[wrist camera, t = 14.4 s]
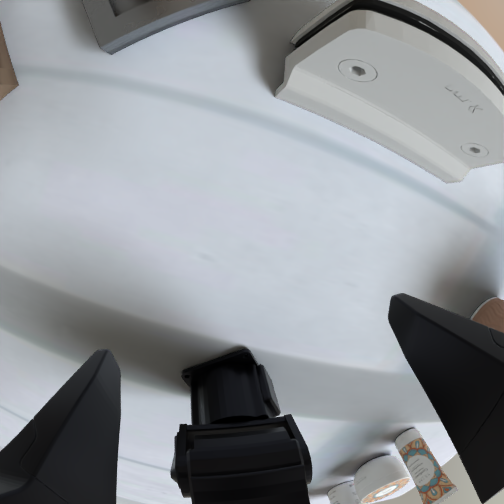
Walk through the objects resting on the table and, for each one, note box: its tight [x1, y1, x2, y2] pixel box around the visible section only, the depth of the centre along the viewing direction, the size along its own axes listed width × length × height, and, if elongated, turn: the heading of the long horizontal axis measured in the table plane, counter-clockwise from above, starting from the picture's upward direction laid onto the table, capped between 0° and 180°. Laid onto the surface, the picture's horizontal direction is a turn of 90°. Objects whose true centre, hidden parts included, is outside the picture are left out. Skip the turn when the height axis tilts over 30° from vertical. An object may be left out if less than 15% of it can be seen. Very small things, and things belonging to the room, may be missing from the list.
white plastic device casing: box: [275, 0, 504, 183], centre depth 16 cm, size 17×5×10 cm, turn 70°
